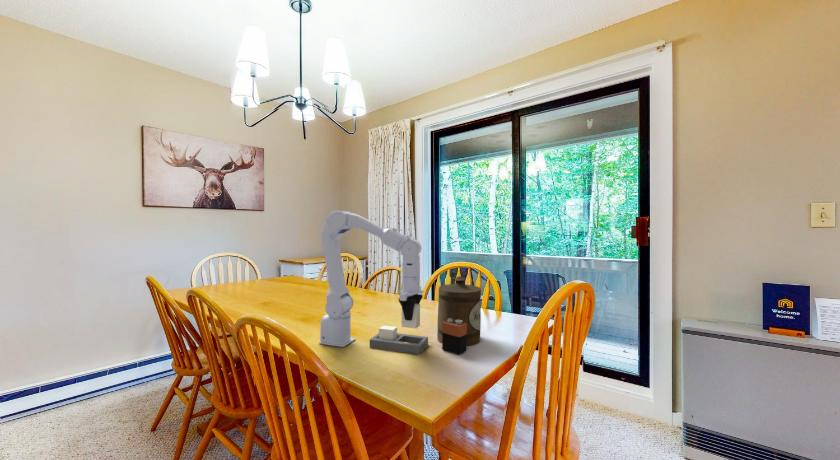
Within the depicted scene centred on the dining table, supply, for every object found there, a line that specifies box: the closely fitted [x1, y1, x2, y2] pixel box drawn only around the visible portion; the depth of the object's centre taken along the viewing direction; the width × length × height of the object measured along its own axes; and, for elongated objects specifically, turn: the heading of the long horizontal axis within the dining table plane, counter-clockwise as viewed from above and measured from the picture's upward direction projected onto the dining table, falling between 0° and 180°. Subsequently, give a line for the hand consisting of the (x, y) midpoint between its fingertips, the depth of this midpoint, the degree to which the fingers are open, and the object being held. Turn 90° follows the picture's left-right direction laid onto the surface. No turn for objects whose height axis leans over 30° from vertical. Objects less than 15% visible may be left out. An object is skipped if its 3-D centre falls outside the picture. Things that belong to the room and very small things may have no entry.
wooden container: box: [436, 276, 482, 347], centre depth 117 cm, size 15×15×22 cm
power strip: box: [369, 325, 429, 355], centre depth 111 cm, size 17×9×6 cm, turn 71°
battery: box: [441, 318, 467, 356], centre depth 107 cm, size 4×7×10 cm, turn 49°
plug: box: [401, 303, 421, 329], centre depth 109 cm, size 5×4×7 cm
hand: (410, 318), depth 109 cm, fingers closed on plug, 3 cm apart
